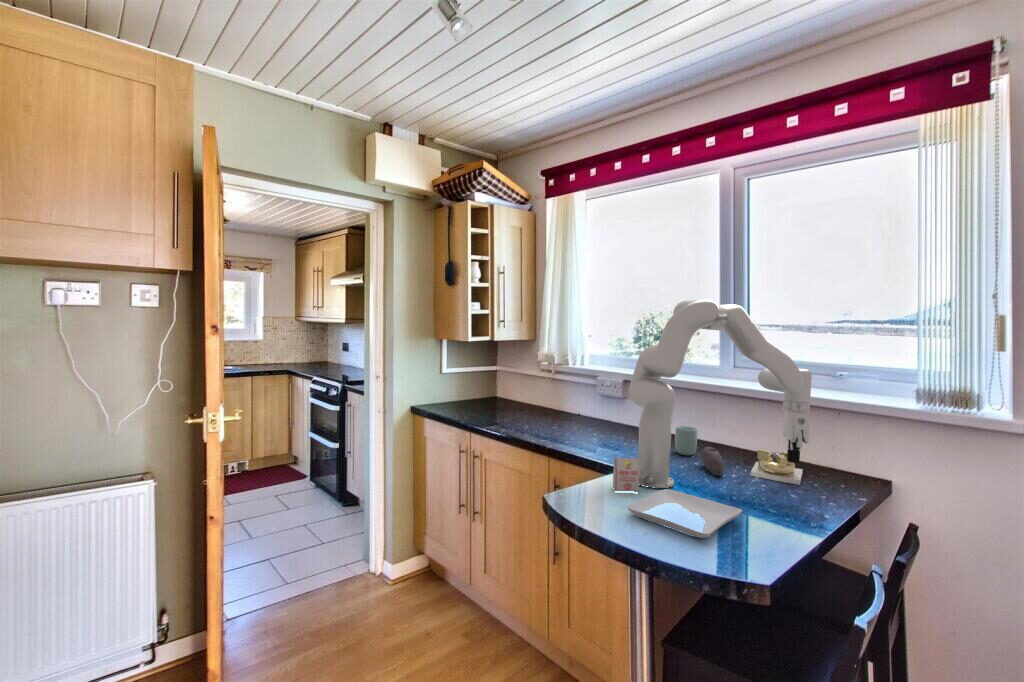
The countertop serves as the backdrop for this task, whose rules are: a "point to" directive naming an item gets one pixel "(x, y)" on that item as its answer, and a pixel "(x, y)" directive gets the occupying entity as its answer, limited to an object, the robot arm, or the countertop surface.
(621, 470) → the printed carton box
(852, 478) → the countertop surface
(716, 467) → the brown oval lump
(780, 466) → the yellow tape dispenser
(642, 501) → the salad plate
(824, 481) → the countertop surface
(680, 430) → the cup
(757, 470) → the housing
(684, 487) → the countertop surface
